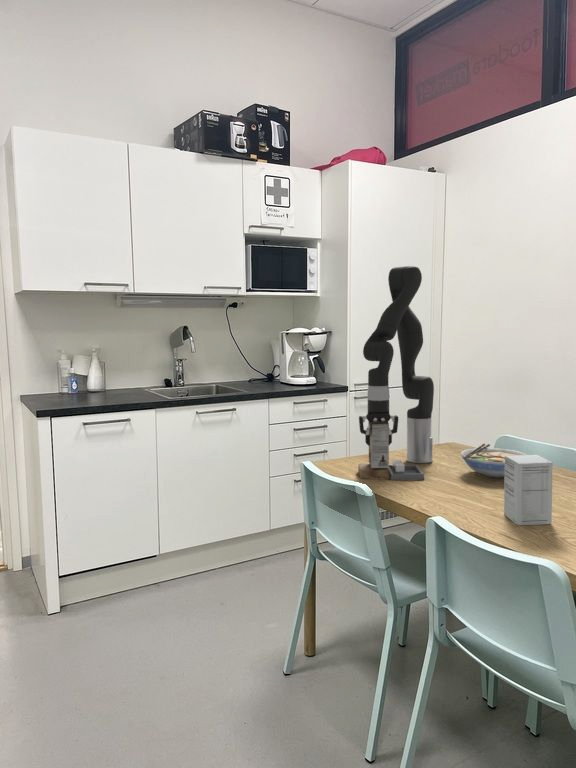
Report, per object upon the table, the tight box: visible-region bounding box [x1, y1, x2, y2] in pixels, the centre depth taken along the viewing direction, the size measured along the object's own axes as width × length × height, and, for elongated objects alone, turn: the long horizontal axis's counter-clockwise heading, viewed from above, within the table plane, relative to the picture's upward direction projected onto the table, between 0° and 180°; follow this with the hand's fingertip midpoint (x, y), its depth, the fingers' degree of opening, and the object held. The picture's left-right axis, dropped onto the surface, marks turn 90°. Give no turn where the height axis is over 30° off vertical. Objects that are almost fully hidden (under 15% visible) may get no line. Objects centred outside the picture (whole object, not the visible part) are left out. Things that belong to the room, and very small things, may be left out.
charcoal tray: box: [389, 464, 425, 481], centre depth 202 cm, size 11×13×2 cm
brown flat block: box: [357, 463, 390, 479], centre depth 203 cm, size 10×9×3 cm
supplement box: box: [503, 454, 554, 526], centre depth 154 cm, size 10×9×17 cm
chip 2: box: [394, 462, 405, 474], centre depth 200 cm, size 4×4×3 cm
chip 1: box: [391, 459, 403, 473], centre depth 204 cm, size 4×4×3 cm
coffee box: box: [367, 420, 390, 468], centre depth 202 cm, size 9×6×16 cm
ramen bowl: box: [460, 443, 528, 479], centre depth 200 cm, size 25×23×8 cm
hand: (378, 444), depth 202 cm, fingers closed on coffee box, 6 cm apart
